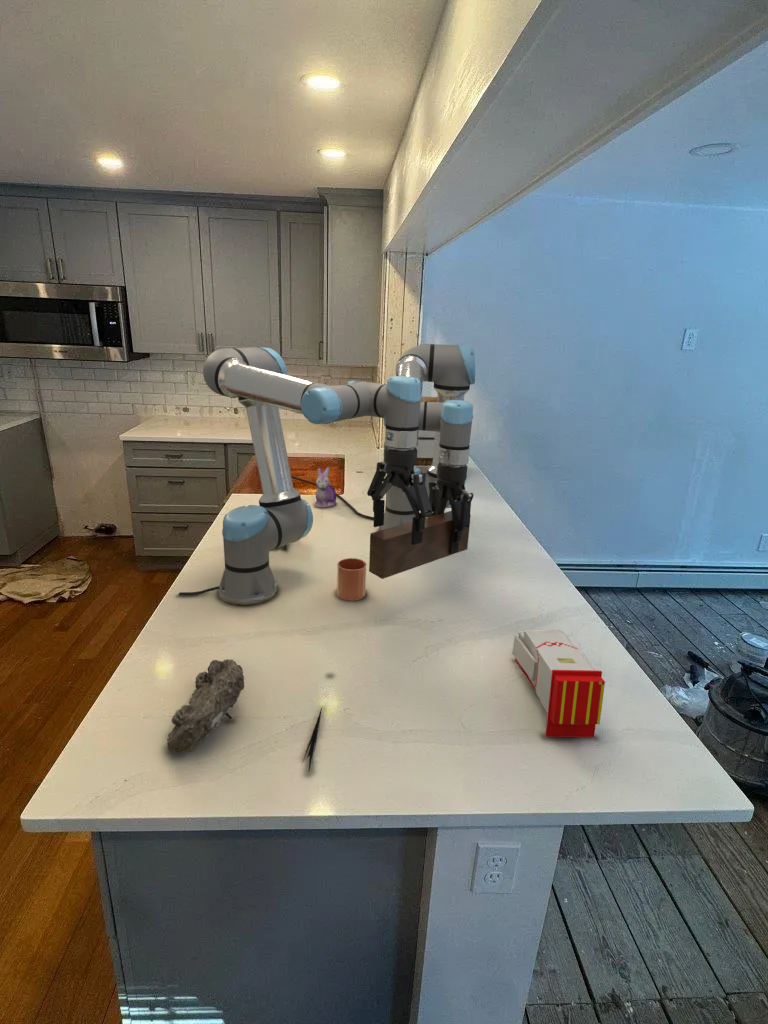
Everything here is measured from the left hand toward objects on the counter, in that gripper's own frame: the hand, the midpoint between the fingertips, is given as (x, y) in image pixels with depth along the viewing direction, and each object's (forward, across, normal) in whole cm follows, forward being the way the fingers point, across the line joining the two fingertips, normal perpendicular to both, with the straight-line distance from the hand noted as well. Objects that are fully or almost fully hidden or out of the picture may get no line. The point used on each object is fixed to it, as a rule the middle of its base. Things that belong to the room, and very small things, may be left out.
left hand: (396, 534), depth 135 cm
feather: (+24, +18, -35) cm, 46 cm away
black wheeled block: (+24, -59, +4) cm, 64 cm away
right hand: (+8, 0, +18) cm, 20 cm away
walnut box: (+9, 0, +9) cm, 13 cm away
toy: (+24, +41, +8) cm, 48 cm away
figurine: (+24, -83, +38) cm, 95 cm away
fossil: (+24, +5, -51) cm, 56 cm away
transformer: (+24, -96, +102) cm, 142 cm away
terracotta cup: (+24, -18, +1) cm, 30 cm away
